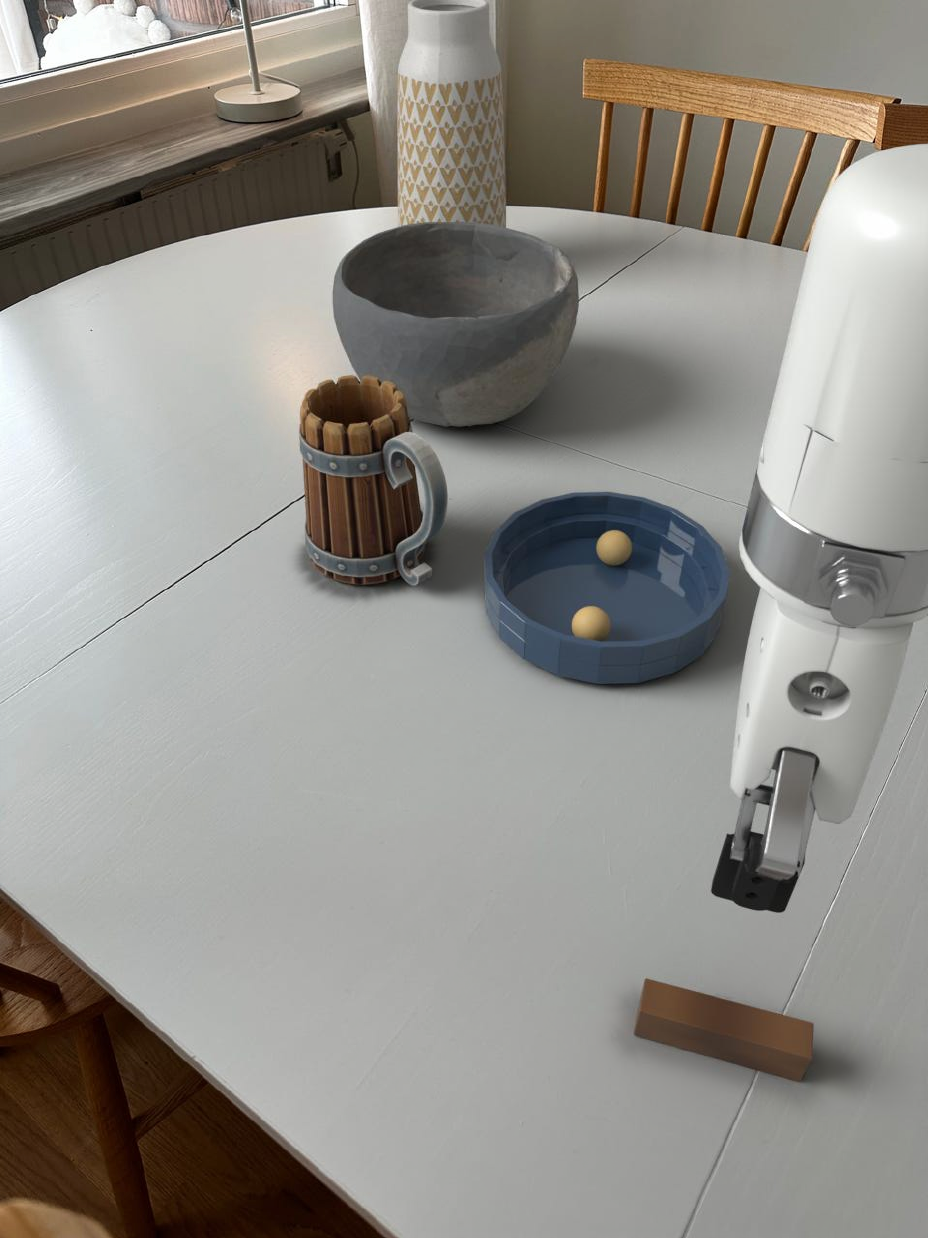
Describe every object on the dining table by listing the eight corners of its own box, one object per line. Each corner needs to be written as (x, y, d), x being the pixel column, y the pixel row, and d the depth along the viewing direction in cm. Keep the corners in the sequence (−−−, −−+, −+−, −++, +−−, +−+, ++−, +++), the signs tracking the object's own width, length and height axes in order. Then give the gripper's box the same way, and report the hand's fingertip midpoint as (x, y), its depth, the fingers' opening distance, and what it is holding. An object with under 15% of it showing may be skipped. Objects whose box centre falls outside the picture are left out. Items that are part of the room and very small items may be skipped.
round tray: (730, 553, 85) (739, 512, 82) (705, 711, 72) (715, 669, 69) (517, 517, 90) (518, 476, 87) (456, 660, 76) (455, 618, 73)
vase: (394, 256, 133) (379, -8, 112) (493, 248, 135) (496, -14, 114) (408, 299, 123) (394, 19, 102) (515, 290, 125) (523, 12, 104)
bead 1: (612, 630, 78) (615, 602, 76) (605, 656, 76) (608, 627, 74) (574, 623, 78) (577, 595, 76) (566, 648, 76) (569, 620, 74)
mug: (283, 547, 87) (258, 397, 77) (377, 500, 92) (365, 353, 82) (393, 638, 78) (380, 482, 68) (490, 580, 83) (492, 427, 73)
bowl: (581, 463, 96) (593, 319, 86) (333, 466, 96) (315, 322, 86) (561, 344, 114) (569, 214, 104) (352, 347, 114) (340, 217, 104)
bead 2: (632, 553, 85) (636, 526, 83) (626, 575, 83) (630, 547, 81) (598, 547, 85) (601, 520, 83) (591, 569, 83) (594, 541, 81)
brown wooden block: (801, 1047, 54) (814, 1022, 52) (799, 1083, 53) (812, 1059, 51) (639, 1002, 56) (645, 977, 54) (633, 1036, 55) (639, 1011, 52)
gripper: (979, 727, 28) (830, 1003, 40) (954, 422, 40) (845, 702, 52) (716, 670, 30) (647, 950, 42) (768, 394, 42) (703, 671, 54)
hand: (757, 812), depth 47 cm, fingers open, 9 cm apart
